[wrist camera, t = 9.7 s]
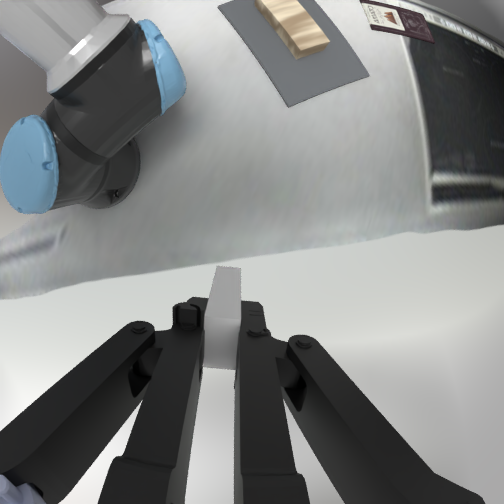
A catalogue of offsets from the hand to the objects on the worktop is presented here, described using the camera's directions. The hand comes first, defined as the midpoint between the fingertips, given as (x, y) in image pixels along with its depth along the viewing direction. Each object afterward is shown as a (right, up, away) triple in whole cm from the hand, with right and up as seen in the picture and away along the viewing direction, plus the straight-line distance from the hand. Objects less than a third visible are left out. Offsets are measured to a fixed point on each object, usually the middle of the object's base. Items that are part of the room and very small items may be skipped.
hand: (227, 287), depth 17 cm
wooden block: (+12, +37, +18) cm, 43 cm away
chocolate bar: (+34, +53, +18) cm, 66 cm away
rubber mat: (+9, +42, +20) cm, 47 cm away
